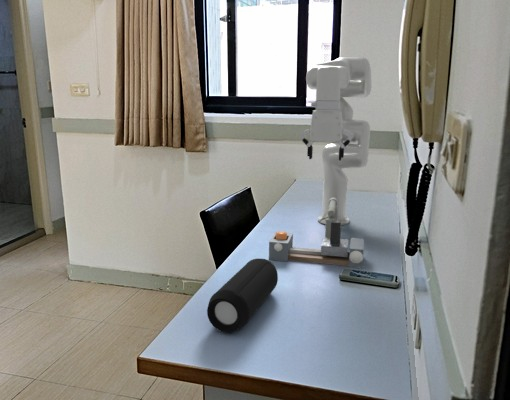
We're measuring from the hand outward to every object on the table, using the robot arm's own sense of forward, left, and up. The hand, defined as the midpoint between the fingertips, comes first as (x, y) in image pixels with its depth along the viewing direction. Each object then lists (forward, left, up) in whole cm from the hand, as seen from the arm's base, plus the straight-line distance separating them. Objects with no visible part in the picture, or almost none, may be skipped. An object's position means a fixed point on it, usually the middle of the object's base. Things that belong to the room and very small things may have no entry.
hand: (325, 159), depth 153 cm
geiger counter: (-8, +2, -31) cm, 32 cm away
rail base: (+12, -1, -30) cm, 33 cm away
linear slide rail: (+12, 0, -30) cm, 33 cm away
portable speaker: (+51, -14, -31) cm, 61 cm away
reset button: (+12, -12, -27) cm, 32 cm away
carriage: (+12, +5, -27) cm, 30 cm away
